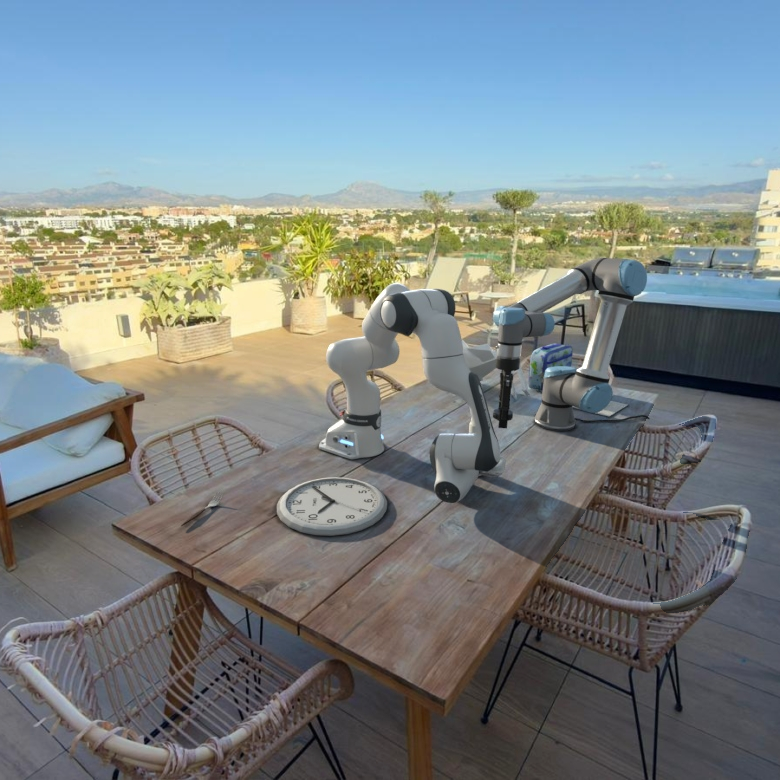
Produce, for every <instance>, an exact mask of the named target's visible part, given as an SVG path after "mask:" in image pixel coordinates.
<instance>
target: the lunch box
mask: <svg viewBox="0 0 780 780" xmlns="http://www.w3.org/2000/svg"><path fill="white" fill-rule="evenodd" d="M573 356H574V355H573V347H572V346H571V345H566V344H560V343H551V344H548V345H544V346H541V347H538V348H536V349H534V350H533V351H532V353H531V355H530V359H529V370H528V371H529V372H528V389H531V390H536V391H541V392H542V390H543V378H544V375H545V370H546V369H547V368H549V367H555V366H568V367H572V365H573V363H572V362H573Z"/></svg>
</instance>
